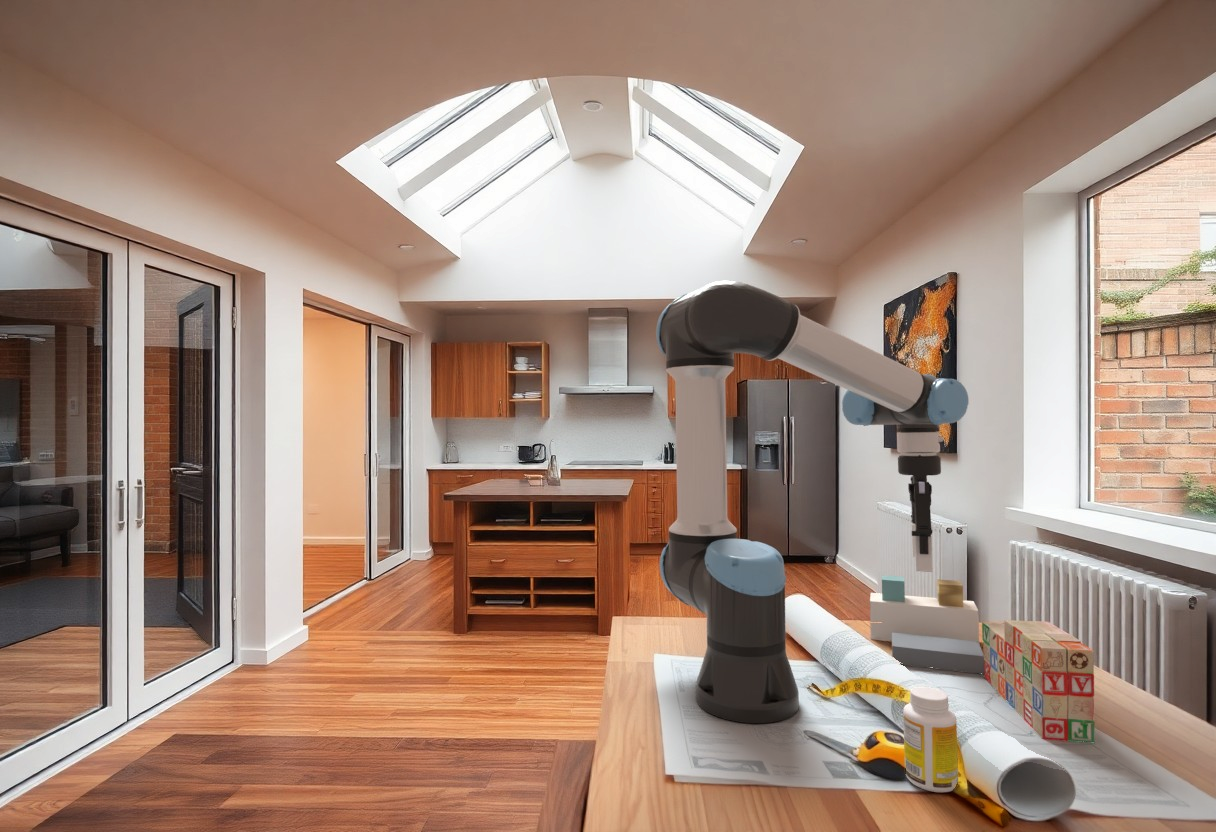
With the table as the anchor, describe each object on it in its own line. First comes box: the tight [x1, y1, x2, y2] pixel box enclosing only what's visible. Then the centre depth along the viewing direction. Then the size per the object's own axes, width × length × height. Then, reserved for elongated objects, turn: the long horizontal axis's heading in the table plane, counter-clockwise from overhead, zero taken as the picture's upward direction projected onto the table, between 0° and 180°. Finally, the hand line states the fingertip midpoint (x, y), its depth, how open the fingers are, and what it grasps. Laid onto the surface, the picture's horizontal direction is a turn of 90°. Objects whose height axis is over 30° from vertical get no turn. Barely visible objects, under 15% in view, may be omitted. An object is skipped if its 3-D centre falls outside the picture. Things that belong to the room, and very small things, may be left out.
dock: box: [891, 633, 984, 675], centre depth 113 cm, size 14×8×3 cm, turn 67°
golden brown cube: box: [936, 579, 964, 607], centre depth 123 cm, size 4×4×4 cm
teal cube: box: [881, 575, 906, 602], centre depth 127 cm, size 4×4×4 cm
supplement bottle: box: [902, 686, 959, 793], centre depth 75 cm, size 6×6×10 cm
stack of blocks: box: [981, 619, 1096, 743], centre depth 94 cm, size 21×6×12 cm, turn 168°
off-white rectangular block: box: [869, 592, 980, 644], centre depth 125 cm, size 18×7×8 cm, turn 67°
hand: (922, 563), depth 125 cm, fingers open, 13 cm apart
